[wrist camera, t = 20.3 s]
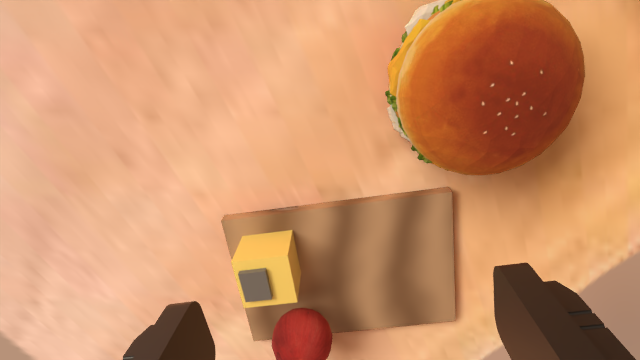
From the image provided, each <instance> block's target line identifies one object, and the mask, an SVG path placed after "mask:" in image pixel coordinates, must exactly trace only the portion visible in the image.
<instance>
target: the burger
mask: <svg viewBox="0 0 640 360" xmlns="http://www.w3.org/2000/svg"><path fill="white" fill-rule="evenodd" d="M405 28H406V32H405V33H404V34H403V35H402V43H401V45H400V47H399V48H397V49H396V50H395V52H394V53H393V56H392V59H391V62H390V63H389V65H388V75H389V91H386V92H385V94H386V96H387V97H388V98H387V102H388V103H389V104H390V105H391V106H390V107H388V108H387V110H388V115H389V118H390V120H391V121H392V124H393V128H394V130H396V131H398V132H399V133H400V135H401V137H402V138H404V139H406V140H408V141H409V142H410V143H411V144H412V148H411V149H412V150H413V151H417V152H418V153H419V156H418V159H419V160H423V161H424V162H425V163H432V164H435V165H436V166H438V167H440V168H444V169H445V170H447V171H453V172H457V173H461V174H465V175H488V174H495V173H501V172H504V171H506V170H509V169H512V168H515V167H518V166H521V165H523V164H525V163H526V162H528V161H530V160H531V159H533V158H535V157H536V156H538V155H540V154H541V153H542V152H543V151H544V150H545V149H546V148H548V147H549V146H550V145H551V144H552V143H553V142H554V141H555V140H556V139H557V137H558V136H559V135H560V134H561V133H562V132H563V131H564V130H565V128H566V127H567V126H568V124H569V122H570V120H571V118H572V116H573V114H574V112H575V109H576V107H577V105H578V103H579V101H580V98H581V93H582V88H583V83H584V77H585V70H584V56H583V52H582V47H581V43H580V41H579V39H578V37H577V35H576V33H575V31H574V30H573V28H572V26H571V24H570V22H569V21H568V20H567V19H566V18H565V17H564V16H563V15H562V14H561V13H560V12H559V11H558V10H557V9H556V8H554V7H553V6H552V5H551V4H550V3H548V2H546V1H544V0H438V1H435V2H432V3H429V4H426V5H422V6H420V7H419V8H418V9H416V10H415V12H414V14H413V16H412V18H411V20H410V22H409V23H408V24H407V25H406V26H405Z"/></svg>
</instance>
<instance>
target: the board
mask: <svg viewBox="0 0 640 360" xmlns="http://www.w3.org/2000/svg"><path fill="white" fill-rule="evenodd" d="M221 222H222V226H223V230H224V233H225V237H226V241H227V244H228V248H229V252H230V255H231V259H233V256H234V254H235V252H236V250H237V247H238V245H239V243H240V240H241V238H242V236H248V235H256V234H264V233H272V232H280V231H288V230H293V235H294V240H295V245H296V250H297V255H298V260H299V265H300V270H301V278H300V286H299V294H298V302H296V303H287V304H278V305H268V306H259V307H250V308H245V311H246V314H247V318H248V322H249V325H250V329H251V333H252V336H253V340H254V341H260V340H270V339H272V337H273V331H274V328H275V325H276V323H277V322H278V320H279V319H280V317H281V316H282V315H284V314H285V313H286V312H288V311H290V310H292V309H295V308H308V309H312V310H315V311H317V312H319V313H320V314H321V315H322V316H323V317H324V318H325V319H326V320H327V321H328V323H329V326H330V329H331V332H332V333H339V332H349V331H359V330H369V329H379V328H389V327H399V326H409V325H419V324H429V323H439V322H449V321H456V315H455V278H454V242H453V206H452V191H451V190H450V189H449V187H445V188H437V189H429V190H421V191H413V192H406V193H398V194H390V195H382V196H374V197H366V198H358V199H350V200H343V201H335V202H327V203H319V204H311V205H303V206H295V207H287V208H279V209H272V210H264V211H256V212H248V213H240V214H232V215H224V217H223V219H222V220H221Z"/></svg>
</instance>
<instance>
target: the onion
mask: <svg viewBox="0 0 640 360" xmlns="http://www.w3.org/2000/svg"><path fill="white" fill-rule="evenodd" d="M331 344H332V332H331V329H330V326H329V323H328V321H327V320H326V319H325V318H324V317H323V316H322V315H321V314H320V313H319V312H317V311H315V310H312V309H308V308H295V309H292V310H290V311H288V312H286V313H285V314H284V315H282V316H281V317H280V319H279V320H278V322H277V323H276V325H275V328H274V331H273V337H272V348H273V351H274V354H275V357H276V360H326V359H327V357H328V355H329V353H330V350H331Z"/></svg>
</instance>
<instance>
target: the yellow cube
mask: <svg viewBox="0 0 640 360" xmlns="http://www.w3.org/2000/svg"><path fill="white" fill-rule="evenodd" d="M231 263H232V267H233V270H234V274H235V278H236V281H237V285H238V289H239V292H240V296H241V300H242V303H243V307H244V308H250V307H259V306H268V305H278V304H287V303H296V302H298V294H299V286H300V278H301V270H300V265H299V260H298V255H297V250H296V245H295V240H294V235H293V230H288V231H280V232H272V233H264V234H256V235H248V236H242V238H241V240H240V243H239V245H238V247H237V250H236V252H235V254H234V256H233V259H232V261H231Z"/></svg>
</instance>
